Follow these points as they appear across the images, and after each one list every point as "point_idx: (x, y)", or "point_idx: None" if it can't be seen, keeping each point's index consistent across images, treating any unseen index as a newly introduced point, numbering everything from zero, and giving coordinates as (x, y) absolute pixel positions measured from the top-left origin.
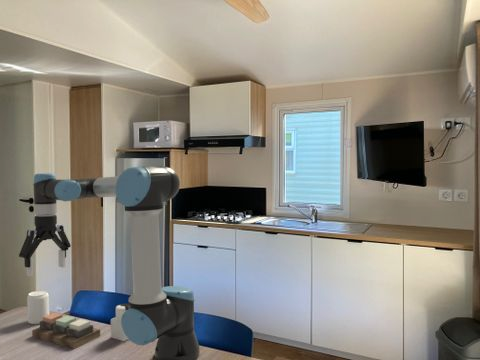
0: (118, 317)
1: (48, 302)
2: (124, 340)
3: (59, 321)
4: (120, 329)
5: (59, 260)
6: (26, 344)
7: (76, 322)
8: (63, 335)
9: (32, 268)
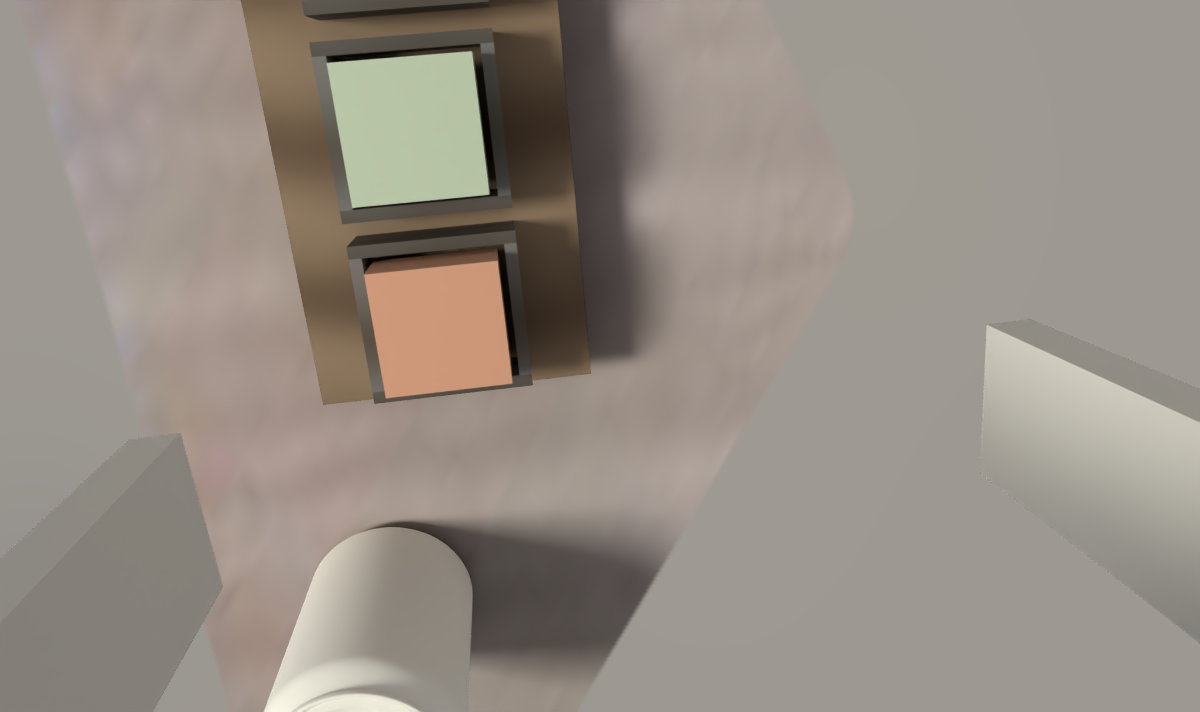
0: None
1: (301, 638)
2: None
3: (482, 135)
4: None
5: (153, 659)
6: (687, 261)
7: None
8: (507, 28)
9: (1129, 374)
